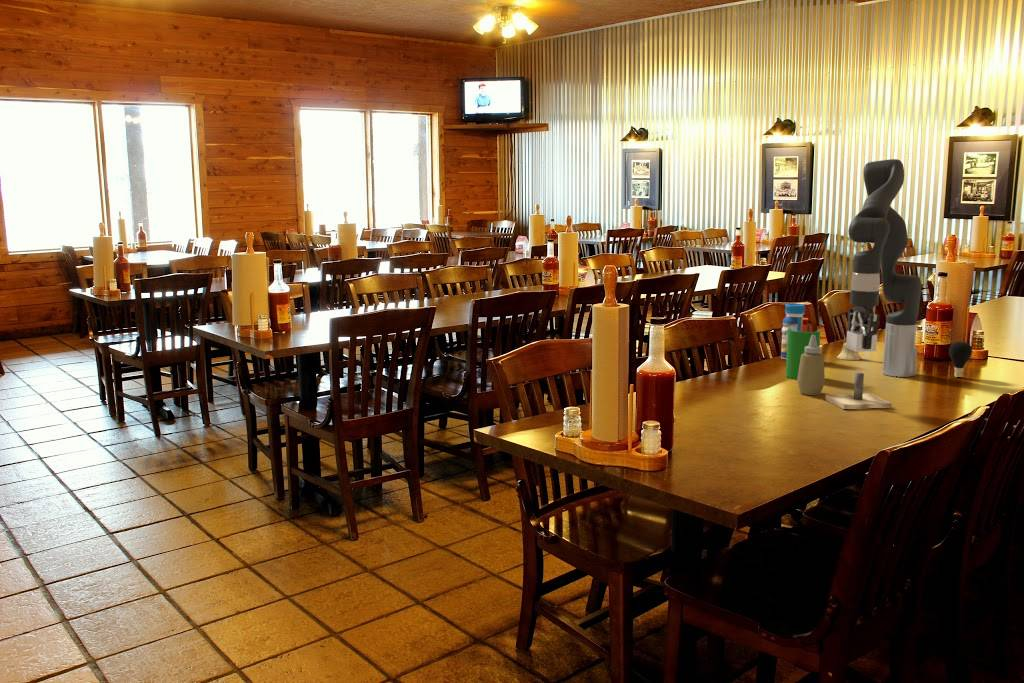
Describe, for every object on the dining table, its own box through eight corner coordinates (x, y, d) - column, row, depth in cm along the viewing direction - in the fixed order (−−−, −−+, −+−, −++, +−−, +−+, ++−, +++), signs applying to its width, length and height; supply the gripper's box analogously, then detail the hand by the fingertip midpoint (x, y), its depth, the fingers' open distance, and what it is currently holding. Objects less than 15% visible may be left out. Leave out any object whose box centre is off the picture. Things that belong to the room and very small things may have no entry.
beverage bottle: (807, 361, 317) (810, 306, 313) (784, 361, 317) (786, 306, 314) (800, 356, 325) (803, 302, 322) (777, 356, 325) (780, 303, 322)
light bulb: (947, 378, 288) (950, 342, 286) (946, 374, 294) (949, 339, 292) (970, 380, 286) (974, 343, 283) (968, 376, 292) (971, 340, 290)
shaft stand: (870, 398, 263) (872, 368, 262) (891, 408, 252) (893, 377, 250) (825, 399, 262) (826, 369, 260) (844, 409, 250) (846, 378, 249)
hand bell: (834, 355, 327) (837, 313, 324) (858, 356, 326) (861, 313, 323) (839, 360, 319) (842, 316, 316) (863, 360, 318) (866, 316, 315)
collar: (865, 347, 257) (866, 330, 256) (876, 351, 251) (877, 333, 250) (845, 347, 257) (847, 330, 256) (855, 351, 251) (857, 334, 250)
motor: (814, 374, 296) (818, 315, 292) (821, 380, 287) (824, 319, 284) (783, 374, 297) (786, 315, 293) (789, 380, 288) (792, 319, 285)
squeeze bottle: (825, 391, 272) (829, 334, 268) (822, 397, 264) (826, 338, 261) (798, 389, 275) (801, 332, 272) (794, 395, 268) (797, 336, 265)
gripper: (890, 291, 244) (886, 351, 247) (865, 285, 258) (861, 342, 261) (864, 292, 244) (860, 352, 247) (840, 286, 258) (837, 342, 261)
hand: (861, 346), depth 254 cm, fingers closed on collar, 6 cm apart
